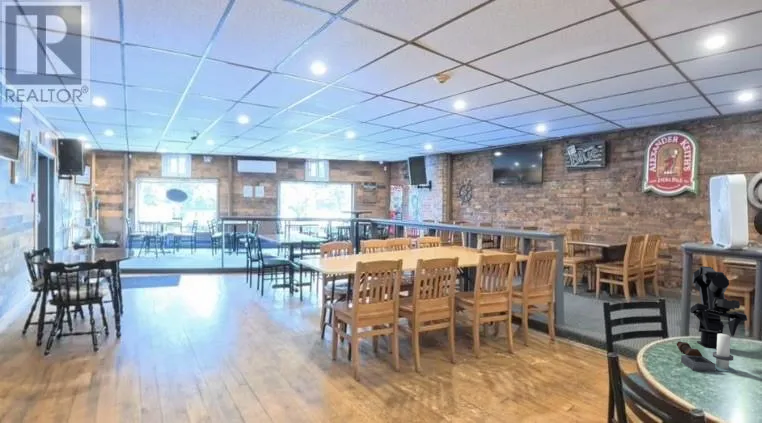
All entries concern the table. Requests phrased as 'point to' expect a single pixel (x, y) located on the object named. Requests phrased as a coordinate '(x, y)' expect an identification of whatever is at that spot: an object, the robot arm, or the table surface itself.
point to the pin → (723, 351)
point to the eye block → (698, 363)
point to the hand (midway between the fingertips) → (720, 332)
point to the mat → (725, 369)
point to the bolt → (688, 349)
